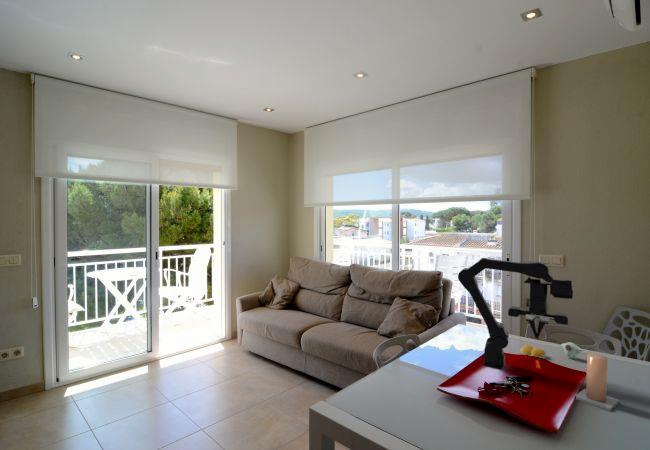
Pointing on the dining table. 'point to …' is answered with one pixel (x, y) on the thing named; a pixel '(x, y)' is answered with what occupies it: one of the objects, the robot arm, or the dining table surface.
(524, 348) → the bread roll
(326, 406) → the dining table surface
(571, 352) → the pale green rounded piece
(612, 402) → the slate coaster
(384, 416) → the dining table surface
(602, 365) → the peach pillar candle
